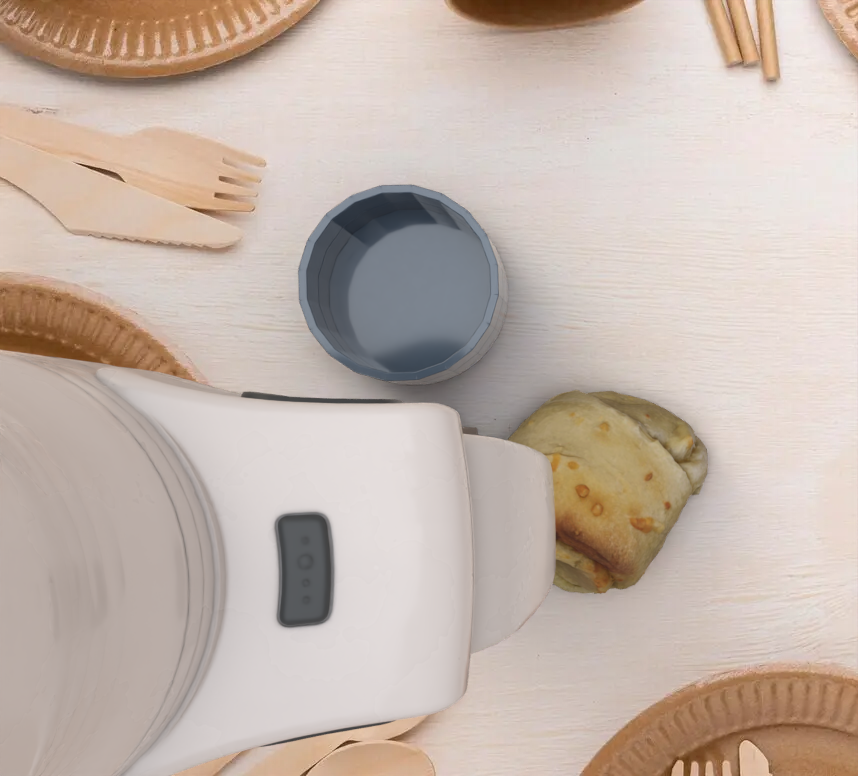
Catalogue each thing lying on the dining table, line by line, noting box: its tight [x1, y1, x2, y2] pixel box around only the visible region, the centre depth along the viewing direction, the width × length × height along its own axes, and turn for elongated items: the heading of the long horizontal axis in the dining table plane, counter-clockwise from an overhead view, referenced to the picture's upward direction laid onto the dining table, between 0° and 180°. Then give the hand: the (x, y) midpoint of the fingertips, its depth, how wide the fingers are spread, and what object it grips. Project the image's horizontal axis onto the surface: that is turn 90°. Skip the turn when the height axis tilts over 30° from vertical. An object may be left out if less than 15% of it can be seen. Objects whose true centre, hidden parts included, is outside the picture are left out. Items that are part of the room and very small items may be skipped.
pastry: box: [507, 389, 709, 595], centre depth 63 cm, size 14×12×8 cm
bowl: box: [297, 184, 509, 386], centre depth 64 cm, size 11×11×6 cm
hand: (258, 518), depth 35 cm, fingers open, 5 cm apart
